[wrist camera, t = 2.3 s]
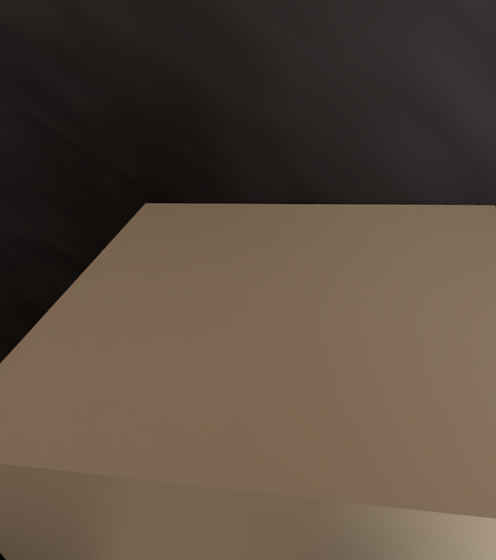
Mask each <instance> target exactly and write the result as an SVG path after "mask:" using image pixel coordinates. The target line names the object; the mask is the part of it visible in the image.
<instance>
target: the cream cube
mask: <svg viewBox="0 0 496 560" xmlns="http://www.w3.org/2000/svg"><path fill="white" fill-rule="evenodd" d="M0 553H1V554H2V555H3V557H4V558H5V559H6V560H496V207H495V206H494V205H360V204H175V203H146V204H145V205H144V206H143V207H142V208H141V209H140V210H139V211H138V212H137V213H136V215H135V216H134V217H133V218H132V219H131V220H130V221H129V222H128V223H127V224H126V226H125V227H124V228H123V229H122V230H121V231H120V232H119V233H118V234H117V236H116V237H115V238H114V239H113V240H112V241H111V242H110V243H109V244H108V245H107V247H106V248H105V249H104V250H103V251H102V252H101V253H100V254H99V255H98V256H97V258H96V259H95V260H94V261H93V262H92V263H91V264H90V265H89V266H88V268H87V269H86V270H85V271H84V272H83V273H82V274H81V275H80V276H79V277H78V279H77V280H76V281H75V282H74V283H73V284H72V285H71V286H70V287H69V289H68V290H67V291H66V292H65V293H64V294H63V295H62V296H61V297H60V298H59V300H58V301H57V302H56V303H55V304H54V305H53V306H52V307H51V308H50V309H49V311H48V312H47V313H46V314H45V315H44V316H43V317H42V318H41V319H40V321H39V322H38V323H37V324H36V325H35V326H34V327H33V328H32V329H31V330H30V332H29V333H28V334H27V335H26V336H25V337H24V338H23V339H22V340H21V341H20V343H19V344H18V345H17V346H16V347H15V348H14V349H13V350H12V351H11V353H10V354H9V355H8V356H7V357H6V358H5V359H4V360H3V361H2V362H1V364H0Z"/></svg>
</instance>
